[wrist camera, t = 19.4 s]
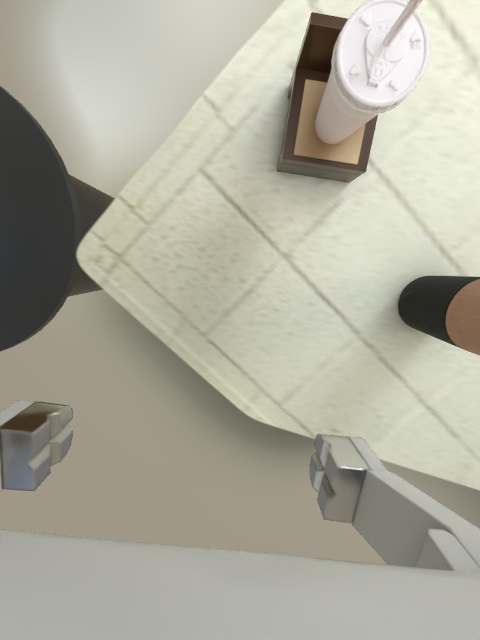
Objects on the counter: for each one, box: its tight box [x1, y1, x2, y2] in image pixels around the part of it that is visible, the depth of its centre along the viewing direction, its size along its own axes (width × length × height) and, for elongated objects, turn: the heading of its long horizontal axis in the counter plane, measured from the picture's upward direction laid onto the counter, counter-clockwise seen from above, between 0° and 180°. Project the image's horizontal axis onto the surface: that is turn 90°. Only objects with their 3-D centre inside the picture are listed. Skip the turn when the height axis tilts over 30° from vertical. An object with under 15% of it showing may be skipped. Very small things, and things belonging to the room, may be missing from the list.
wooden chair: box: [277, 12, 378, 182], centre depth 27 cm, size 9×9×9 cm
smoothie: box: [315, 0, 430, 144], centre depth 21 cm, size 6×6×14 cm
